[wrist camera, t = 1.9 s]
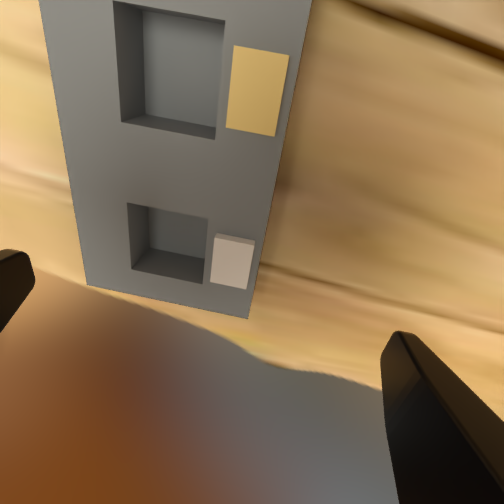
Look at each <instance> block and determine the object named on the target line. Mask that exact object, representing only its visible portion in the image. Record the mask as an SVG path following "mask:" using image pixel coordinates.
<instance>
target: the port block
mask: <svg viewBox="0 0 504 504" xmlns="http://www.w3.org/2000/svg"><path fill="white" fill-rule="evenodd" d="M311 4H312V0H39V5H40V11H41V17H42V23H43V29H44V35H45V40H46V46H47V52H48V58H49V64H50V70H51V76H52V82H53V88H54V93H55V99H56V105H57V111H58V117H59V123H60V129H61V135H62V140H63V146H64V152H65V158H66V164H67V170H68V176H69V182H70V188H71V193H72V199H73V205H74V211H75V217H76V223H77V229H78V235H79V241H80V246H81V252H82V258H83V264H84V270H85V276H86V282H87V285H90V286H94V287H99V288H104V289H109V290H113V291H118V292H123V293H127V294H132V295H137V296H141V297H146V298H151V299H156V300H160V301H165V302H170V303H174V304H179V305H184V306H189V307H193V308H198V309H203V310H207V311H212V312H217V313H221V314H226V315H231V316H236V317H240V318H245V319H248V316H249V311H250V306H251V302H252V297H253V292H254V287H255V282H256V277H257V272H258V267H259V262H260V257H261V253H262V248H263V243H264V238H265V233H266V228H267V223H268V218H269V213H270V208H271V203H272V198H273V193H274V188H275V183H276V178H277V173H278V168H279V163H280V158H281V153H282V148H283V143H284V138H285V133H286V128H287V124H288V119H289V114H290V109H291V104H292V99H293V94H294V89H295V84H296V79H297V74H298V69H299V64H300V59H301V54H302V49H303V44H304V39H305V34H306V29H307V24H308V19H309V14H310V9H311Z"/></svg>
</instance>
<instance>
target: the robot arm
mask: <svg viewBox="0 0 504 504" xmlns="http://www.w3.org/2000/svg"><path fill="white" fill-rule="evenodd" d="M34 284H35V276H34V272H33V269H32V265H31V261H30V258H29V256H28V255H27V253H25V252H22V251H18V250H13V249H4V250H0V332H1V331H2V330H3V329H4V327H5V326H6V325H7V323H8V322H9V320H10V319H11V318H12V316H13V315H14V314H15V312H16V311H17V310H18V308H19V307H20V305H21V304H22V303H23V301H24V300H25V299H26V297H27V296H28V294H29V293H30V291H31V290H32V289H33V287H34ZM380 366H381V379H382V392H383V406H384V418H385V427H386V433H387V440H388V445H389V451H390V456H391V461H392V467H393V472H394V477H395V483H396V488H397V494H398V499H399V504H504V422H503V421H502V420H501V419H500V418H499V417H498V416H497V415H496V414H495V413H494V412H493V411H492V410H491V409H490V408H489V407H488V406H487V405H486V404H485V403H484V402H483V401H482V400H481V399H480V398H479V397H478V396H477V395H476V394H475V393H474V392H473V391H472V390H471V389H470V388H469V387H468V386H467V385H466V384H465V383H464V382H463V381H462V380H461V379H460V378H459V377H458V376H457V375H456V374H455V373H454V372H453V371H452V370H451V369H450V368H449V367H448V366H447V365H446V364H445V363H444V362H443V361H442V360H441V359H440V358H439V357H438V356H437V355H436V354H435V353H434V352H433V351H432V350H431V349H429V348H428V347H427V346H426V345H425V344H424V343H423V342H422V341H421V340H420V339H419V338H418V337H417V336H416V335H415V334H412V333H408V332H404V331H395V332H394V333H393V334H392V336H391V338H390V340H389V341H388V343H387V345H386V347H385V348H384V350H383V352H382V354H381V359H380Z"/></svg>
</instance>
